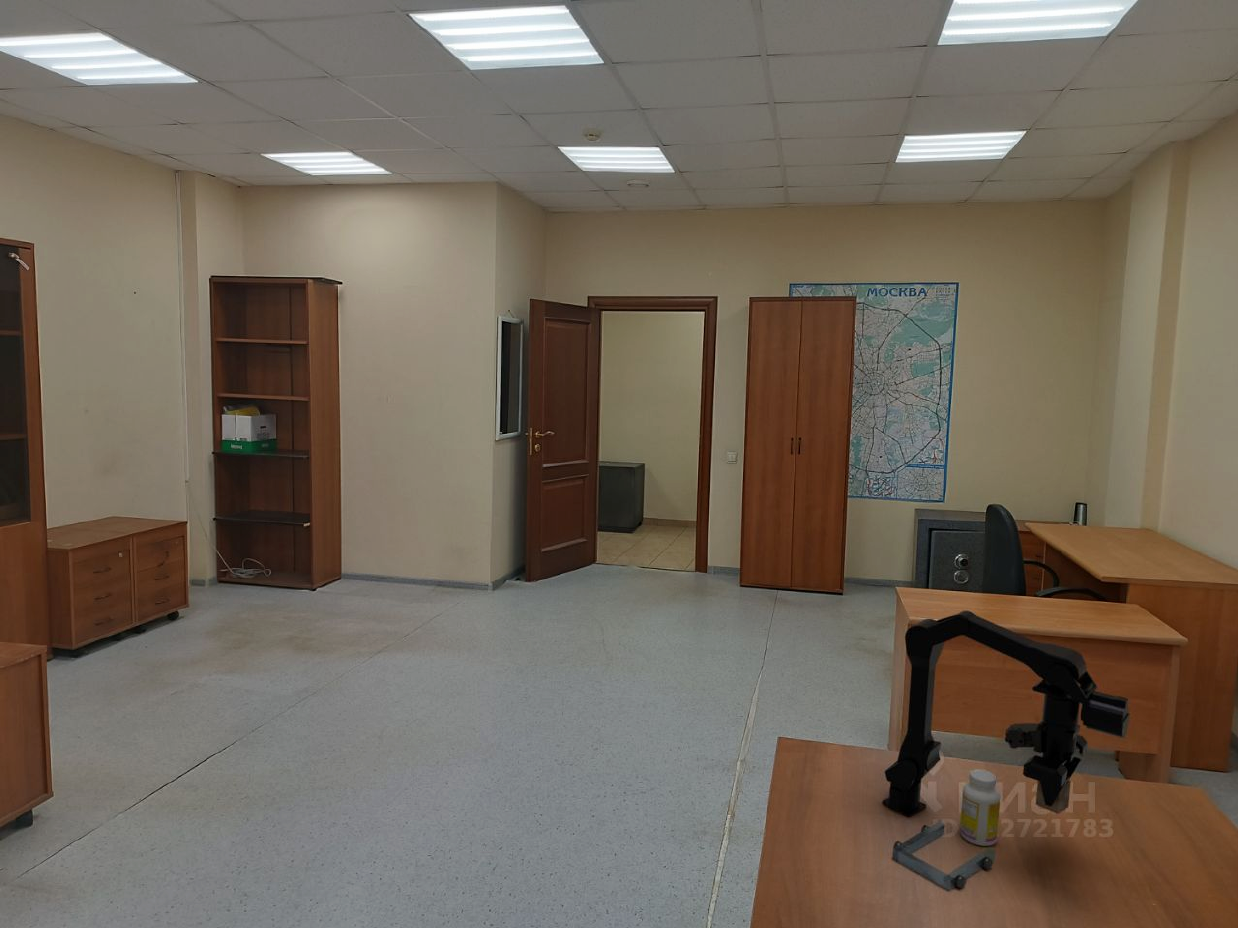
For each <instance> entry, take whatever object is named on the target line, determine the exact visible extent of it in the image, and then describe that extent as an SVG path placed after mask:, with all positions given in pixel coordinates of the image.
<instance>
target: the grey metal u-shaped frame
mask: <svg viewBox="0 0 1238 928" xmlns="http://www.w3.org/2000/svg"><path fill="white" fill-rule="evenodd" d="M945 824H946V823H943V822H941V821H938V822H936V823H934V824H933V825H931V826H929V825H926V824H924V825H922V827H921V829H920V832H919V833H917V834H915V835H913V836H912V837H910V838H909V839H907V840H905V841H903V842H901V841H899V840H896V841H895V842H894V844H893V847H892V857H891V858H892V859H893V860H894V861H896V862H897V863H899V864H901V865H903V866H905V867H906V868H909V869H910V870H912V871H913V872H915V873H917V874H918V875H920V876H922V877H924V878H926V879H927V880H929V881H931V882H932V883H934V884H935V885H938V886H940V887H942V888H943V889H945V890H947V891H949V892H950V891H951V890H953V889H954V888H956V887H957V888H959V889H960V890H962V889H964V887H965V886H966V884H967V879H969V878H971V877H973V875H974V874H976V873H977V872H979V871H981V870H982V869H983V868H984V869H985V870H987V871H990V870H991V869H992V867H993V864H994V861H995V860H996V859H995V858H996V849H995V848H992V847H991V846H988V847H986V848H985V849H984V850H982V851H981V852H979V853H978V854H976V855H975V856H973V857H971V858H970V859H968V860H967V861H966V862H964V863H963V864H961V865H959V866H958V867H956V868H955V869H954V870H952V871H951V872H949V873H948V874H947V873H946V872H944V871H942V870H941V869H938V868H937V867H935V866H934V865H931V864H930V863H927V862H926V861H925V860H922V859H920V858H919V857H917V856H916V855H913V853H915V852H916V851H919V850H920V849H922V848H923V847H925V846H927V845H929V844H930V843H931V842H933V841H935V840H936V839H939V838H940V837H941V836H943V835H944V834H945V827H946V825H945Z"/></svg>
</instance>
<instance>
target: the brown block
mask: <svg viewBox="0 0 1238 928" xmlns="http://www.w3.org/2000/svg"><path fill="white" fill-rule="evenodd" d="M1071 783H1072V781H1070V780H1069V781H1068V780H1067V782H1066V784H1065V785H1064V787H1063V788H1062V790H1061V792H1060V793H1059V795H1058V797H1057V798H1056V800H1055V802H1054V803H1053V805H1052V806H1051V807H1050V806H1047V805H1045V802H1044V798H1043V793H1042V788H1041V784H1040V781H1037V787H1036V796H1035V806H1038V807H1040V808H1043V809H1045V810H1047V811H1049V812H1051V813H1054V814H1056V815H1059V814H1061V813H1062V812H1063V811H1064V810H1066V809H1068V808H1069V802H1070V793H1071Z"/></svg>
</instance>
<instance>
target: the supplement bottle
mask: <svg viewBox="0 0 1238 928" xmlns="http://www.w3.org/2000/svg"><path fill="white" fill-rule="evenodd" d="M968 779H969V781H968V782H966V783H965V784H964V785H963V787H962V797H961V798H962V799H961V812H960V822H959V823H960V824H959V825H960V826H959V833H960V835H961V836H962V837H963V839H964V840H966V841H968V842H969V843H971V844H973V845H977V846H983V847H986V846H988V847H990V846H992V845H994V844H996V842H997V840H998V833H999V821H1000V809H1001V793H1000V791H999V789H998V788H997V787H996V784H997V777H996V775H995V774H993V773H992V772H991V771H988V770H984V769H980V768H978V769H972V770H970V772H969V776H968Z"/></svg>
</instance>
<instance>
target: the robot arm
mask: <svg viewBox="0 0 1238 928" xmlns="http://www.w3.org/2000/svg"><path fill="white" fill-rule="evenodd" d="M904 635H905V636H904V642H905V652H906V656H907V658H908V661H909V664H910V665H911V666H910V668H911V669H910V681H909V682H910V683H909V698H908V699H909V701H908V715H907V716H908V717H907V730H906V734H905V736H904V739H903V741H902V743H901V745H900V747H899V748H900V749H899V752H898V756H897V760H896V761H894V762H893V764H890V766H889V767H888V768H887V769H885V770H884V776H885V779H886V781H887V782H888V783H889V790H888V797H886V798H885V799H882V802H881V804H882V805H884V806H887V807H888V808H890V809H892V810H894V811H895V812H898V813H900V814H901V815H903V816H905V817H909V818H910V817H912V816H914V815H915V814H917V813H919V812H920V811H923V810H925V809H926V808H927V805H926V803H924V802H921V788H922V779H923V778H924V777H925V776H926V775H927V774H928V773H929V772H931V771H932V769H934V768H935V767H936V766H937V764H938V763H939V762H940V761H941V760H942V759H941V755H940V750H941V746H942V742H941V741H936V740H935V739H934V737H933V735H932V725H933V724H932V722H933V721H932V720H933V709H934V708H933V707H934V696H935V695H934V694H935V678H936V677H935V676H936V666H937V664H938V661H939V659H940V657H941V655H942V652H943V649H944V645H945V643H946V642H947V641H950V640H951V639H955V638H957V637H960V636H963V637H965V638H968V639H970V640H971V641H972V640H973V641H975V642H977V643H979V644H981V645H983V646H985V647H988V648H990V649H992V650H995V651H996V652H999V653H1001V654H1003V655H1005V656H1007V657H1010V658H1011V659H1013V660H1016V661H1018V662H1020V663H1022V664H1024V665H1025V666H1026V667H1028V668H1029V669H1030V670H1031V671H1032V672H1033V673H1034V674H1036V676H1038V677H1039V678H1041V679H1042V680H1040V681H1038V682H1037V683H1035V684H1034V685H1033V686H1032V687H1031V690H1032V691H1033V692H1036V693H1040V694H1043V695H1044V696H1043V705H1042V706H1043V707H1042V715H1041V721H1040V722H1038V723H1034V722H1033V723H1032V722H1028V723H1026V722H1025V723H1023V722H1022V723H1013V724H1011V725H1009V726H1008V727H1007V729H1006V730H1005V734H1004V735H1005V738H1004V741H1005V743H1008V745H1009V748H1011V749H1014V750H1015V749H1017V748H1033V752H1034V753H1035V752H1036V753H1039V754H1042V756H1040V755H1037V754H1034V755H1033V756H1030V757H1029V758H1028V759H1027V760H1026V761H1025V763H1023V770H1022V775H1023V776H1024V777H1026V778H1028V779H1032V780H1035V781H1037V782H1038V781H1040V784H1041V788H1042V793H1043V798H1044V802H1045V805H1047V806H1050V807H1051V806H1052V805H1053V803H1054V802H1055V800H1056V798H1057V797H1058V795H1059V793H1060V792H1061V790H1062V788H1063V787H1064V785H1065V784H1066V782H1067V780H1068V781H1070V780H1071V778H1072V776H1073V775H1074V772H1075V771H1076V769H1077V768H1078V766H1079V765H1080V764H1081V762H1082V759H1081V758H1079V757H1076V755H1077V754H1078V755H1079V756H1082V757H1084V756H1085V754H1086V753H1087V752H1088V751H1087V750H1088V741H1087V740H1086V738H1085V737H1084V736H1083V735H1080V734H1079V733H1080V731H1081V725H1080V724H1079V718H1080V721H1081V722H1082V726H1085V727H1086V729H1089V730H1093V731H1096V732H1098V733H1101V734H1102V733H1103V734H1106V735H1110V736H1113V737H1117V738H1120V739H1125V737H1126V735H1127V732H1128V728H1129V723H1130V717H1131V716H1130V715H1131V712H1129V710H1130V708H1129V705H1128V704H1129V699H1128V697H1123V696H1119V695H1118V696H1117V695H1113V694H1109V693H1108V694H1107V693H1103V692H1099V691H1096V690H1098V685H1097V684H1096V683H1095V681H1094V680H1093V678H1092V676H1091V675H1090V673H1089V671H1088V670H1087V663H1086V661H1085V658H1084V657H1083V655H1082V654H1081V653H1080V652H1078V651H1077V650H1075V649H1072V648H1068V647H1065V646H1061V645H1057V644H1054V643H1045V642H1040V641H1036V640H1032V639H1031V638H1028V637H1026V636H1023V635H1022V634H1019V633H1017V632H1015V631H1013V630H1010V629H1008V628H1005V627H1003V626H1001V625H999V624H997V623H995V622H991V621H990V620H987V619H985V618H983V617H981V616H979V615H976V614H975V613H974V612H972V611H971V610H962V611H959V613H955V614H953V615H948V616H946V617H943V618H940V619H937V620H936V619H934V618H925V619H922V620H921V621H919V622H918V623H916V624H914V625H912V626H911V627H910V628H908V629H907V630H906V632H905V633H904ZM1080 705H1081V706H1080ZM1080 707H1081V709H1080ZM1079 716H1080V717H1079Z"/></svg>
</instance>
